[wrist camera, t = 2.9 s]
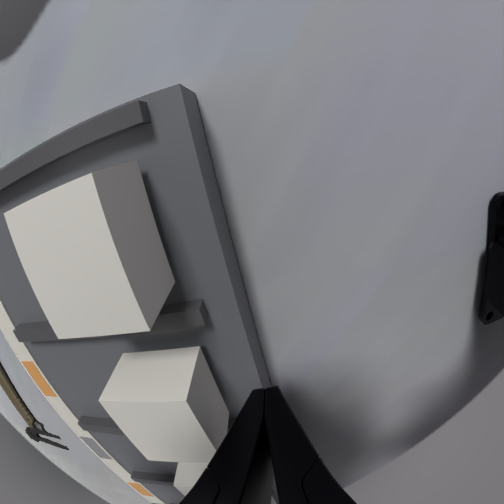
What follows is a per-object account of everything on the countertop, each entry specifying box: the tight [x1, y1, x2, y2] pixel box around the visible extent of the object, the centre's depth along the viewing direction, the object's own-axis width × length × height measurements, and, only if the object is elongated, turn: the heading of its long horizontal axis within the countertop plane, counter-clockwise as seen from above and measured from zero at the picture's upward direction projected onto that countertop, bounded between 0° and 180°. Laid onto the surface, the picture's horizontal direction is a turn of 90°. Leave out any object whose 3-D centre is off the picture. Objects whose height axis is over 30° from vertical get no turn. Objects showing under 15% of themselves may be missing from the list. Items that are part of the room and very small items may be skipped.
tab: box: [98, 346, 229, 463], centre depth 9 cm, size 3×4×2 cm
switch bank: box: [0, 84, 279, 504], centre depth 13 cm, size 12×25×3 cm, turn 13°
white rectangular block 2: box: [173, 462, 209, 496], centre depth 11 cm, size 3×4×2 cm
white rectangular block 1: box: [4, 160, 175, 339], centre depth 7 cm, size 3×4×2 cm
